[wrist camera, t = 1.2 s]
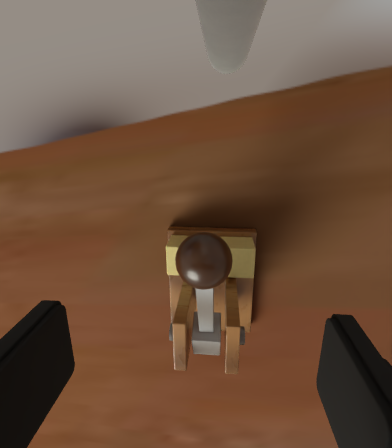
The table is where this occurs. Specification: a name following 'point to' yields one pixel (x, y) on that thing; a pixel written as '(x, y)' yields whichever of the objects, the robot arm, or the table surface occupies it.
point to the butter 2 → (241, 256)
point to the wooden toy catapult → (223, 303)
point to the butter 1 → (173, 253)
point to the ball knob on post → (204, 285)
